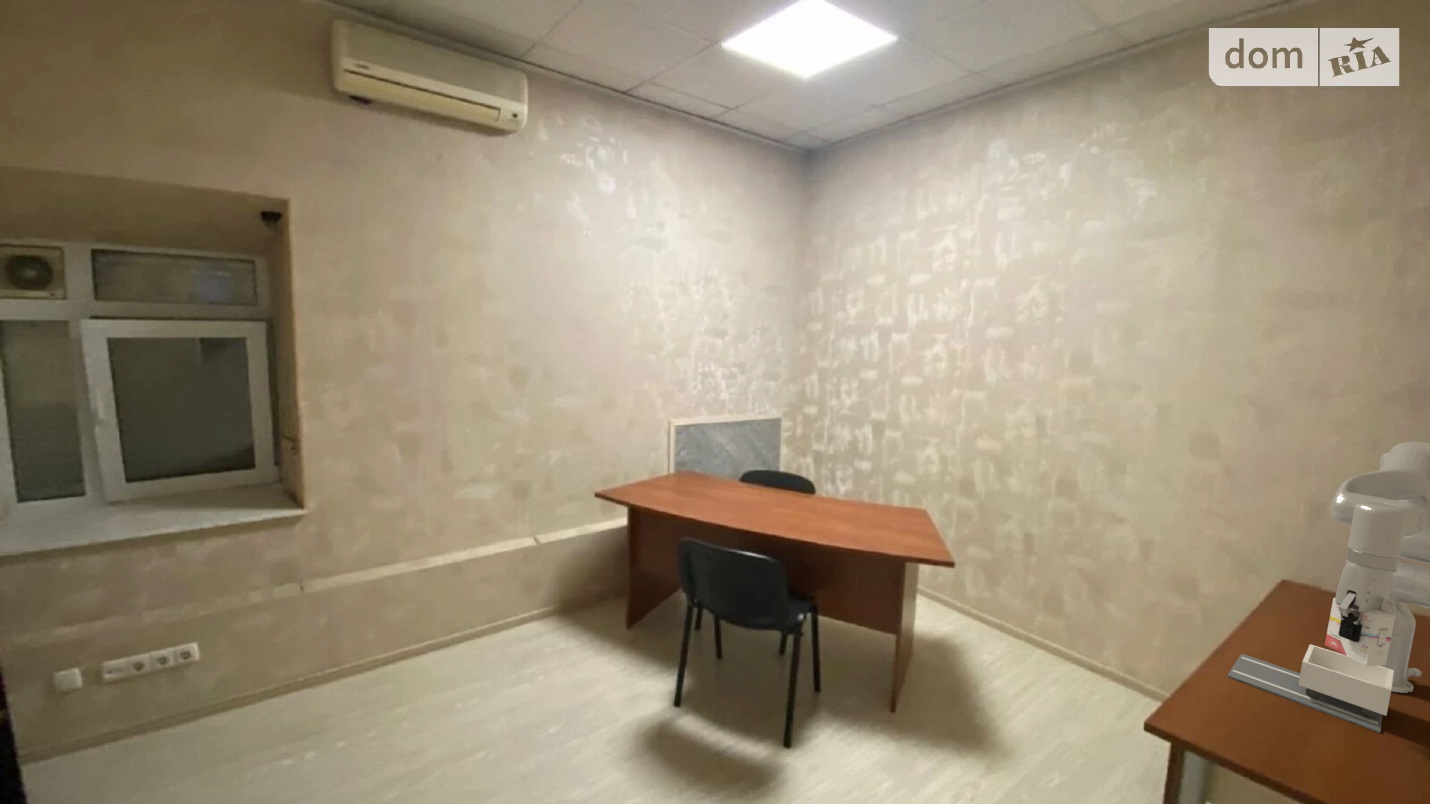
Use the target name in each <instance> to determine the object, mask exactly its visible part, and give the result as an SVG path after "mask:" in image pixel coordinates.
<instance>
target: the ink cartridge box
mask: <svg viewBox="0 0 1430 804" xmlns="http://www.w3.org/2000/svg"><path fill="white" fill-rule="evenodd" d="M1335 598H1336V597H1333V598H1332V599H1333V600H1332V603H1331V608H1330V615H1329V620H1328V626H1327V632H1326V637H1325V643H1324V645H1325V647H1328V648H1329V649H1332V650H1333V651H1335V652H1337V653H1340V654H1343V655H1346V656H1348V657H1349V658H1351V659H1353V660H1355V661H1357V662H1359V663H1361V664H1363V665H1365V666H1381V665H1386V663H1387V657H1388V652H1389V646H1390V641H1391V636H1392V631H1393V625H1394V620H1395V606H1396V603H1395V602H1394V601H1392V600H1389V599H1387V598H1383V602H1382V606H1381V609H1380V610H1375V611H1370V612H1366V613H1363V615H1362V619H1361V622H1360V624H1359V625H1362V628H1361V634H1360V640H1359V642H1354V641H1351V640H1348V639H1346V638H1343V637H1341V636H1339V628H1340V623H1341V619H1340V617H1341V614H1340V611H1339V609H1338V608H1339V606H1340V605H1337V604H1336V603H1335ZM1351 608H1354V609H1357V610H1358V609H1359V608H1358V607H1356V606H1352V607H1351ZM1350 611H1351V610H1350ZM1351 613H1353V614H1354V616H1355V617H1356V615H1357V613H1356V612H1354V611H1351Z"/></svg>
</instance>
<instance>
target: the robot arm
mask: <svg viewBox="0 0 1430 804" xmlns="http://www.w3.org/2000/svg"><path fill="white" fill-rule="evenodd" d="M1429 491H1430V442H1422V441H1420V442H1419V441H1406V442H1401V443H1398V444H1396V445H1394V446H1393V447H1392V448H1391V449H1390V450H1389V451H1387V452H1385V453H1383V454H1382V455H1381V456H1380V459H1379V470H1375V471H1370V472H1365V473H1363V474H1358V475H1354V476H1352V477H1350V478H1348V479H1346V480H1344V481H1343V482H1342V483H1341V484H1340V486H1339V487H1338V489H1337V491H1336V493H1334V496H1333V498H1332V500H1331V502H1330V507H1329V510H1330V515H1331V517H1332V518H1333V519H1334V520H1335V521H1336V522H1339V523H1341V524H1344V525H1347V526H1348V525H1349V526H1350V531H1349V536H1348V537H1349V538H1348V542H1347V543H1348V545H1347V549H1346V554H1345V555H1346V556H1345V562H1346V563H1345V565H1344V567H1343V569H1342V572H1341V575H1340V579H1339V582H1338V585H1337V588H1336V589H1337V590H1336V593H1335V597H1334V598H1335V603H1336V604H1337V605H1340V606H1339V608H1338V609H1339V611H1340V614H1341V617H1340V619H1341V623H1340V628H1339V636H1341V637H1343V638H1346V639H1348V640H1351V641H1354V642H1359V640H1360V634H1361V628H1362V625H1359V624H1360V622H1361V619H1362V615H1363V613H1366V612H1370V611H1375V610H1380V609H1381V606H1382V602H1383V598H1387V599H1389V600H1392V601H1394V602H1395V603H1396V606H1395V620H1394V625H1393V631H1392V636H1391V641H1390V646H1389V652H1388V657H1387V663H1386V665H1381V666H1382V667H1385V668H1388V669H1392V670H1394V672H1393V681H1392V689H1391V693H1398V692H1399V694H1409V693H1408V692H1410V693H1413V691H1414V685H1413V683H1411V682H1410V680H1408V679H1409V678H1411V677H1421V676H1422V671H1421V670H1420V669H1419V668H1417V667H1416V668H1415V667H1414V668H1413V667H1408V665H1409V662H1410V656H1411V652H1412V646H1413V642H1414V635H1415V630H1416V619H1415V616H1414V614H1413V613H1412V612H1411V610H1410V609H1409V608H1408V606H1407V605H1406V604H1409V605H1413V606H1417V607H1421V608H1425V609H1429V610H1430V568H1426V567H1422V566H1419V565H1414V564H1409V563H1405V562H1401V561H1399V559H1400V558H1401V559H1406V560H1409V561H1415V562H1418V563H1423V564H1428V565H1430V494H1429ZM1352 606H1356V607H1358V608H1359V609H1358V610H1357V609H1354V608H1351V607H1352ZM1350 610H1351V611H1354V612H1356V613H1357V615H1356V617H1355V616H1354V614H1353V613H1351V611H1350Z"/></svg>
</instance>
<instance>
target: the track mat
mask: <svg viewBox="0 0 1430 804" xmlns="http://www.w3.org/2000/svg"><path fill="white" fill-rule="evenodd" d="M1227 676H1228V677H1227ZM1226 677H1227V678H1229V677H1230V678H1229V679H1231V678H1233V679H1232V680H1234V679H1235V680H1234V681H1238V682H1240V681H1241V682H1240V683H1242V682H1243V684H1245V683H1246V685H1248V686H1250V685H1251V686H1252V687H1253V688H1256V689H1259V690H1262V691H1265V692H1266V693H1267V692H1268V693H1269V692H1270V693H1269V694H1272V695H1276V696H1278V697H1280V698H1283V699H1286V698H1287V700H1288V699H1289V700H1288V701H1291V702H1294V703H1296V702H1298V703H1297V704H1299V705H1303V706H1305V707H1307V708H1311V709H1313V710H1316V711H1319V712H1322V713H1323V714H1327V715H1329V716H1332V717H1334V718H1337V719H1340V720H1343V721H1345V722H1348V723H1351V722H1352V723H1351V724H1353V723H1355V724H1354V725H1357V726H1359V727H1361V726H1362V728H1365V729H1367V730H1370V731H1373V732H1376V733H1377V734H1381V732H1382V731H1381V730H1382V725H1383V723H1382V722H1383V716H1384V715H1382V714H1380V713H1377V717H1376V718H1375V719H1368V718H1366V717H1364V716H1363V715H1362V713H1361V709H1362V707H1360V706H1357V705H1354V704H1351V703H1348V702H1346V701H1343V700H1340V699H1337V698H1334V697H1331V696H1328V695H1326V694H1323V693H1320V697H1319V698H1317V699H1313V698H1310V697H1309V696H1308V695H1307V694H1306V689H1307V688H1306V687H1303V686H1300V685H1298V684H1299V678H1300V672H1297V671H1294V670H1291V669H1288V668H1285V667H1282V666H1279V665H1277V664H1274V663H1270V662H1268V661H1266V660H1262V659H1260V658H1256V657H1253V656H1249V655H1247V654H1244V653H1241V654H1240V655H1239V657H1238V659H1236V661H1235V663H1234V664H1233V666H1232V667H1231V669H1230V670H1229V672H1228V674H1227V675H1226Z"/></svg>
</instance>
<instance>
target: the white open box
mask: <svg viewBox="0 0 1430 804" xmlns="http://www.w3.org/2000/svg"><path fill="white" fill-rule="evenodd" d="M1393 672H1394V670H1392V669H1388V668H1385V667H1382V666H1365V665H1363V664H1361V663H1359V662H1357V661H1355V660H1353V659H1351V658H1349V657H1348V656H1346V655H1344V654H1342V653H1340V652H1338V651H1335V650H1331V649H1326V648H1323V647H1320V646H1317V645H1314V644H1311V643H1310V644H1309V645H1308V648H1307V650H1306V652H1305V655H1304V656H1303V659H1302V662H1301V669H1300V671H1299V673H1300V678H1299V684H1298V685H1300V686H1303V687H1306V688H1307V689H1306V694H1307V695H1308V696H1309V697H1310V698H1313V699H1317V698H1319V697H1320V693H1323V694H1326V695H1328V696H1331V697H1334V698H1337V699H1340V700H1343V701H1346V702H1348V703H1351V704H1354V705H1357V706H1360V707H1362V709H1361V713H1362V715H1363V716H1364V717H1366V718H1368V719H1375V718H1376V717H1377V713H1380V714H1382V715H1383V716H1386V717H1387V714H1388V708H1389V705H1390V704H1389V703H1390V699H1391V693H1392V691H1391V689H1392V681H1393Z"/></svg>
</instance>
